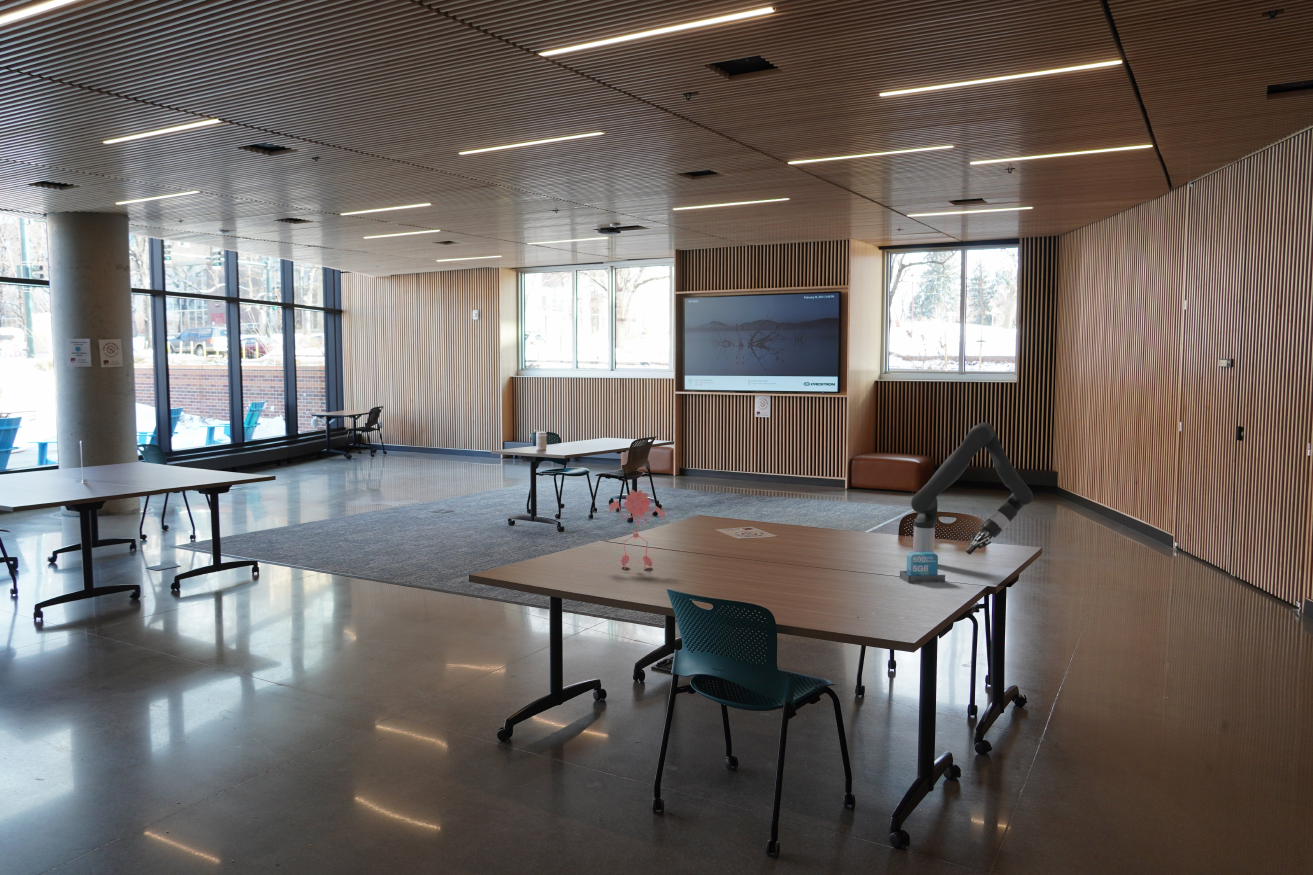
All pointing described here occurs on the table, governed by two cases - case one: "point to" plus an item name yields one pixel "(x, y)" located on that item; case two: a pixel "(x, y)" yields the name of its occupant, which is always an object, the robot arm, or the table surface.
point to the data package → (922, 563)
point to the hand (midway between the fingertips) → (967, 552)
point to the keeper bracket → (921, 578)
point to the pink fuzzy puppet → (636, 506)
